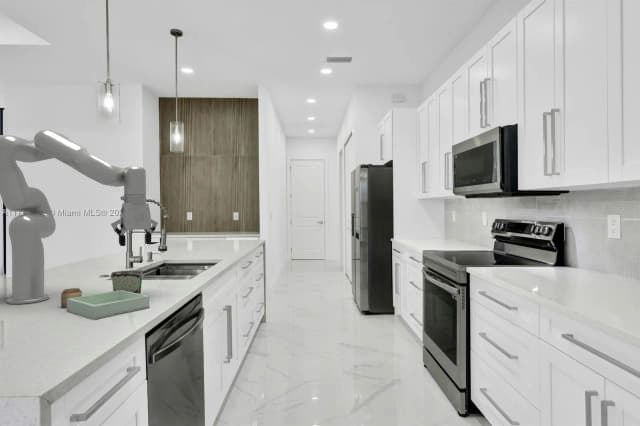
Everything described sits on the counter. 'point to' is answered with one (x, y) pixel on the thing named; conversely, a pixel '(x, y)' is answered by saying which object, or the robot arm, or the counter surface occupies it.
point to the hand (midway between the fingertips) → (135, 244)
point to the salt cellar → (69, 295)
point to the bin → (107, 304)
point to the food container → (127, 281)
